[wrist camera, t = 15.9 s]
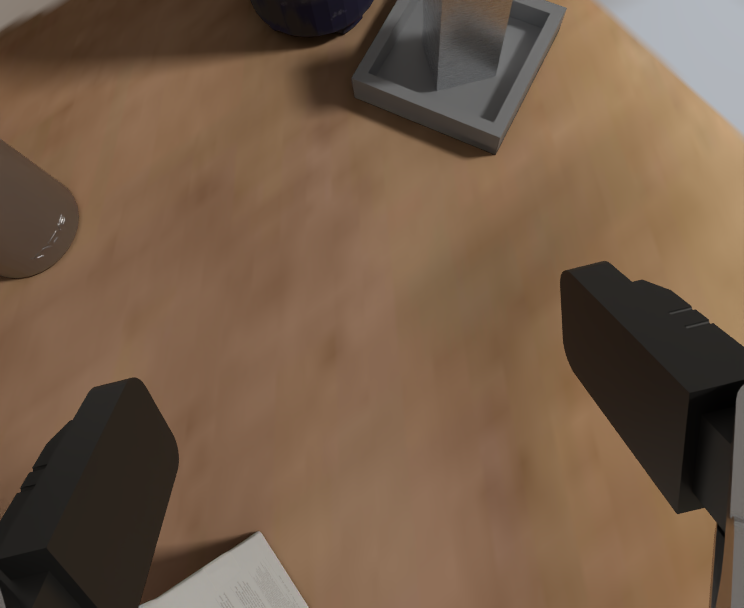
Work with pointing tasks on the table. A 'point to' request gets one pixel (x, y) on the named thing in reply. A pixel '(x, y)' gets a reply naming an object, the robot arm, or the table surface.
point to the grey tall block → (463, 39)
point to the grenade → (311, 15)
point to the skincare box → (236, 582)
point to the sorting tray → (464, 102)
